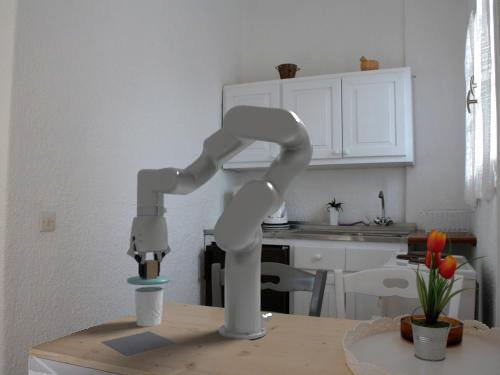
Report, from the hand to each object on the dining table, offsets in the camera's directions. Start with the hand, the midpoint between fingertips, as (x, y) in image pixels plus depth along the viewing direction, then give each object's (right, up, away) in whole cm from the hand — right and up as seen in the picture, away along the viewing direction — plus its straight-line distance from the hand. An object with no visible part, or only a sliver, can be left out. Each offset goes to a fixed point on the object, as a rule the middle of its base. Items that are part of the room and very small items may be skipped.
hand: (149, 276), depth 119 cm
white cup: (0, -14, -1) cm, 14 cm away
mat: (+2, -13, -18) cm, 22 cm away
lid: (0, -1, 0) cm, 1 cm away
